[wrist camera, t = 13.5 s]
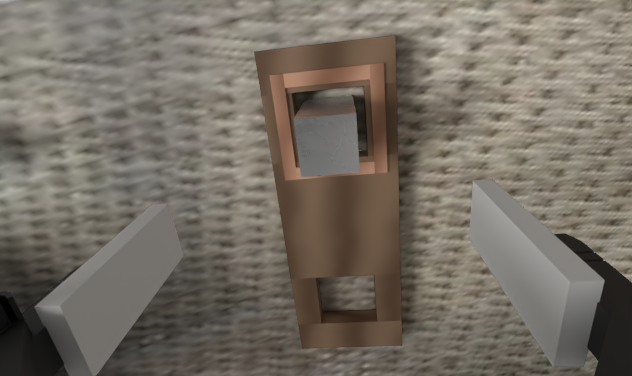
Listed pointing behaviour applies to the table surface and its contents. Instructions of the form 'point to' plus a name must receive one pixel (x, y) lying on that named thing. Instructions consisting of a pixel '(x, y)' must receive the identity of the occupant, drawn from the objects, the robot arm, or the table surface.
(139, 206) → the table surface
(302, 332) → the walnut rail
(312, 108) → the steel block
